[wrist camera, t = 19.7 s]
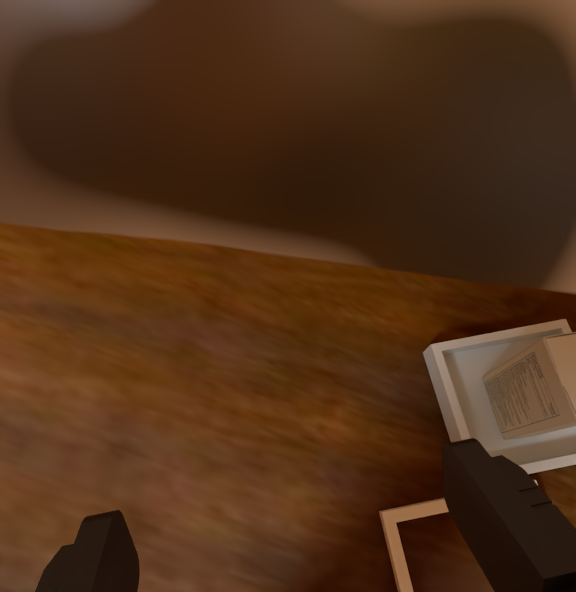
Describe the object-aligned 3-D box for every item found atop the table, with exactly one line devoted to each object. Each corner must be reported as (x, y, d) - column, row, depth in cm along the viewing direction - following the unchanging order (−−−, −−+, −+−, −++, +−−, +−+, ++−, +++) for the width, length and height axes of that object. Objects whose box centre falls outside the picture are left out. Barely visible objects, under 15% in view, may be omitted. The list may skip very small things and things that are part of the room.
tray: (605, 455, 41) (627, 453, 38) (464, 484, 40) (476, 484, 37) (549, 328, 46) (565, 318, 43) (422, 352, 45) (430, 344, 42)
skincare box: (546, 433, 41) (641, 416, 30) (501, 441, 41) (579, 426, 30) (522, 366, 44) (600, 326, 32) (479, 373, 43) (543, 335, 32)
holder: (585, 638, 36) (597, 644, 34) (418, 676, 35) (423, 684, 34) (528, 480, 40) (536, 480, 39) (378, 511, 40) (381, 512, 38)
